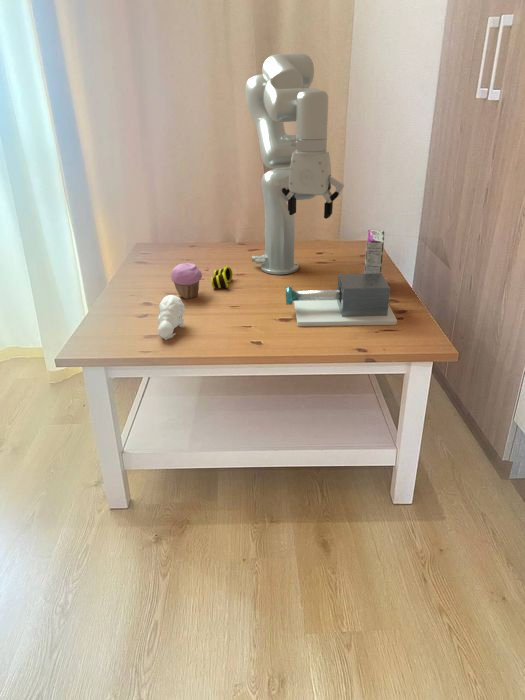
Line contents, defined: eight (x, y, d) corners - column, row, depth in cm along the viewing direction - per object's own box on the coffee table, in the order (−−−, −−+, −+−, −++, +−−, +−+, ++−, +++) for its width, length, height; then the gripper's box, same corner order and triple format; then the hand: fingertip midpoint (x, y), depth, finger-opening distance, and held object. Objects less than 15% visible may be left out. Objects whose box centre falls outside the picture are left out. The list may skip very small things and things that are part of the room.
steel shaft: (286, 307, 144) (286, 291, 142) (285, 300, 149) (285, 284, 146) (370, 306, 144) (372, 289, 142) (367, 299, 149) (368, 282, 146)
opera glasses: (218, 281, 172) (214, 266, 169) (234, 278, 171) (230, 263, 168) (212, 293, 163) (208, 277, 161) (229, 290, 162) (225, 275, 160)
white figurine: (184, 292, 139) (173, 316, 130) (187, 320, 144) (177, 345, 134) (160, 291, 140) (148, 315, 130) (164, 319, 145) (153, 344, 135)
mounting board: (297, 326, 141) (297, 322, 140) (293, 301, 155) (293, 297, 154) (396, 324, 141) (397, 320, 140) (383, 299, 155) (384, 295, 154)
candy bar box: (363, 280, 168) (367, 229, 160) (379, 281, 167) (385, 229, 159) (361, 294, 158) (366, 240, 150) (379, 295, 158) (384, 241, 150)
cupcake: (208, 296, 159) (206, 264, 154) (185, 304, 154) (182, 271, 149) (190, 288, 165) (187, 256, 160) (167, 296, 159) (163, 264, 154)
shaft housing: (342, 316, 143) (343, 288, 139) (336, 300, 152) (338, 274, 148) (387, 315, 143) (390, 287, 139) (379, 300, 152) (382, 273, 148)
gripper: (273, 146, 133) (273, 216, 141) (340, 149, 126) (336, 222, 134) (285, 142, 139) (285, 209, 147) (349, 145, 132) (346, 215, 140)
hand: (309, 215), depth 140 cm, fingers open, 9 cm apart
